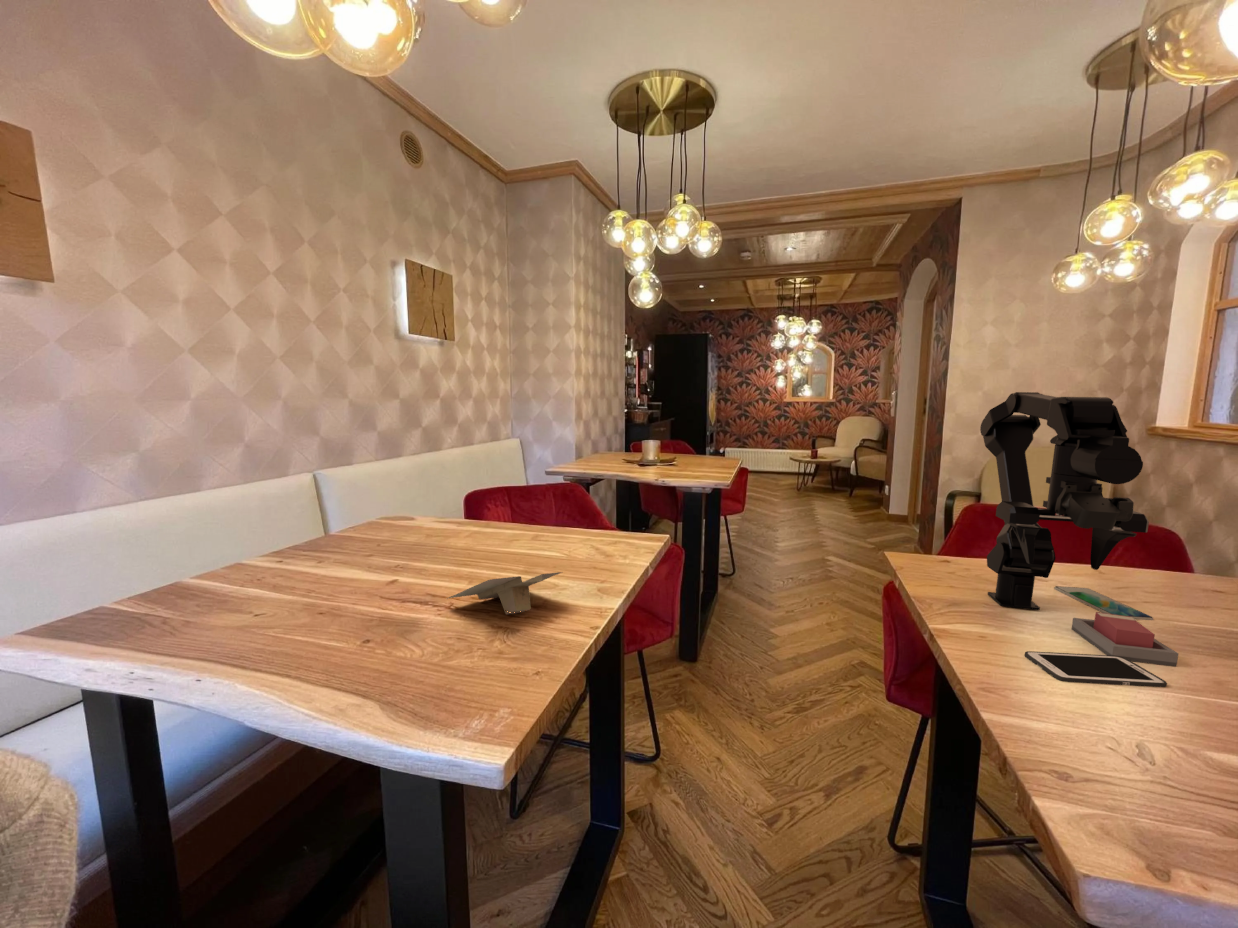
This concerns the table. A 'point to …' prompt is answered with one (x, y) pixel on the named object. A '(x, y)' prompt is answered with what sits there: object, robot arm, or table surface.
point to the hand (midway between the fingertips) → (1061, 566)
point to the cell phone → (1094, 669)
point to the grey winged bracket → (507, 591)
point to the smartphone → (1102, 602)
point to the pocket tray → (1137, 654)
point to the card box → (1123, 630)
